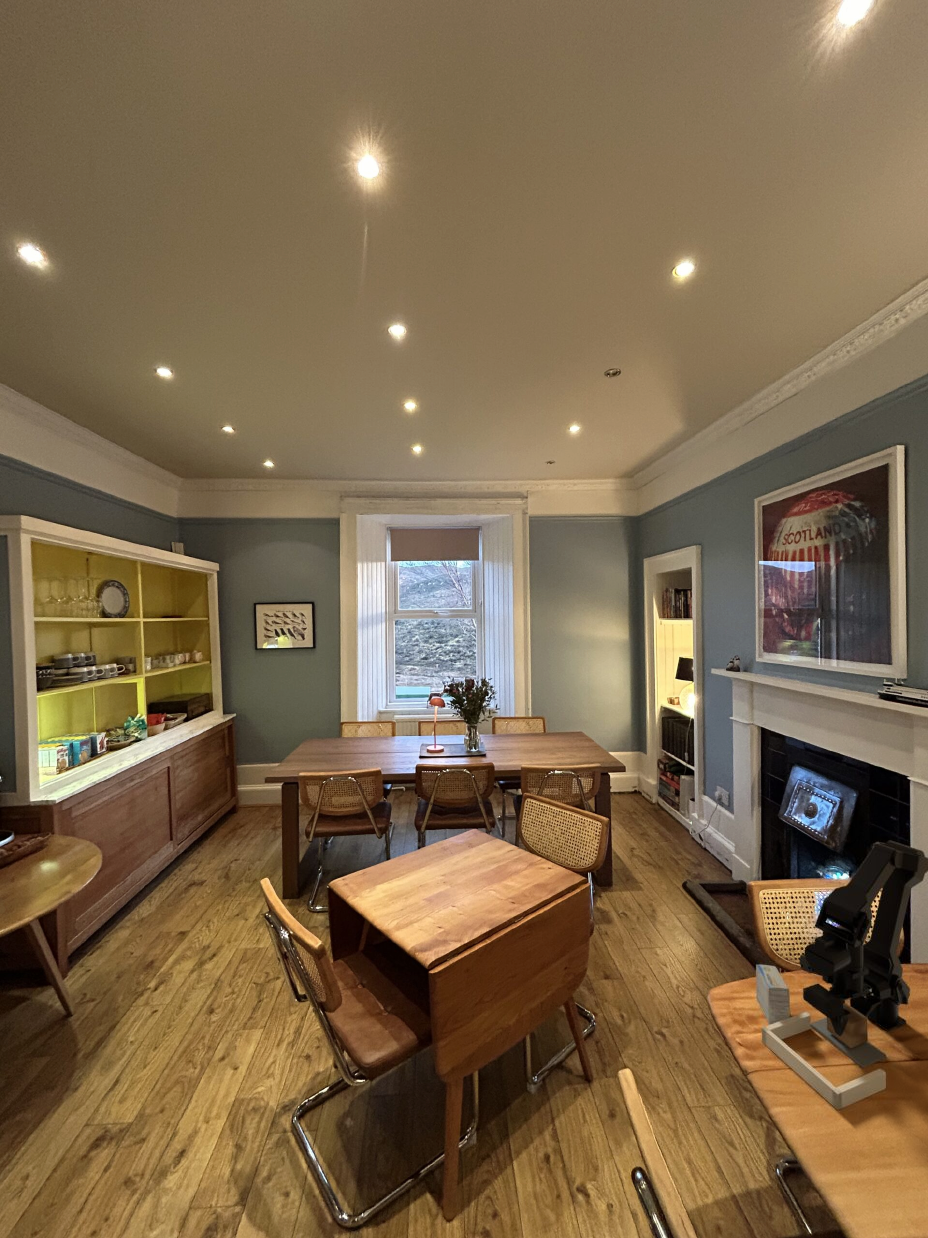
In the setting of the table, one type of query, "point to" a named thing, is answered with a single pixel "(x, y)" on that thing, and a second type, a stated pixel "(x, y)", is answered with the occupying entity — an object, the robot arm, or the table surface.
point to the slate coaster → (859, 1054)
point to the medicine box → (772, 994)
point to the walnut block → (852, 1028)
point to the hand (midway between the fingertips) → (847, 1031)
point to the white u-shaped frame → (833, 1095)
